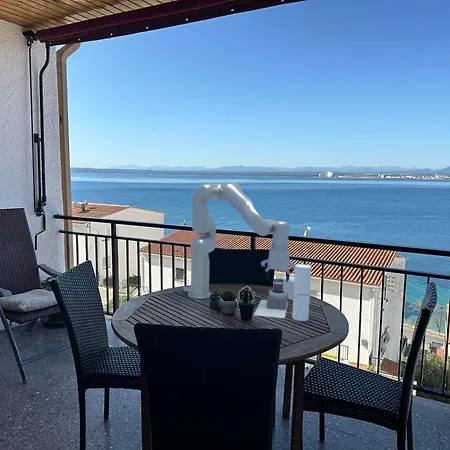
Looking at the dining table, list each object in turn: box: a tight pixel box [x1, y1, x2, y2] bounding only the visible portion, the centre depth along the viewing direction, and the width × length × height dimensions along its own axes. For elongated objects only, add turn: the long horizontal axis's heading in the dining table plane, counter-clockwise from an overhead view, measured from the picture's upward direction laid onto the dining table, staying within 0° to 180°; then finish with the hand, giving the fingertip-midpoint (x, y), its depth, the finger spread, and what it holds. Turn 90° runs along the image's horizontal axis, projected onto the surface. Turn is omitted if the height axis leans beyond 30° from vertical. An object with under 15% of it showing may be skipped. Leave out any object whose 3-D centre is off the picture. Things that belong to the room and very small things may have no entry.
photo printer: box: [281, 275, 295, 301], centre depth 225 cm, size 10×4×12 cm, turn 39°
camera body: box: [266, 288, 289, 311], centre depth 210 cm, size 9×14×7 cm, turn 168°
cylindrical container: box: [291, 263, 312, 322], centre depth 191 cm, size 7×7×25 cm
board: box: [253, 299, 289, 319], centre depth 205 cm, size 14×26×1 cm, turn 168°
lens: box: [272, 278, 284, 293], centre depth 210 cm, size 5×5×8 cm
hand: (277, 280), depth 210 cm, fingers open, 9 cm apart
